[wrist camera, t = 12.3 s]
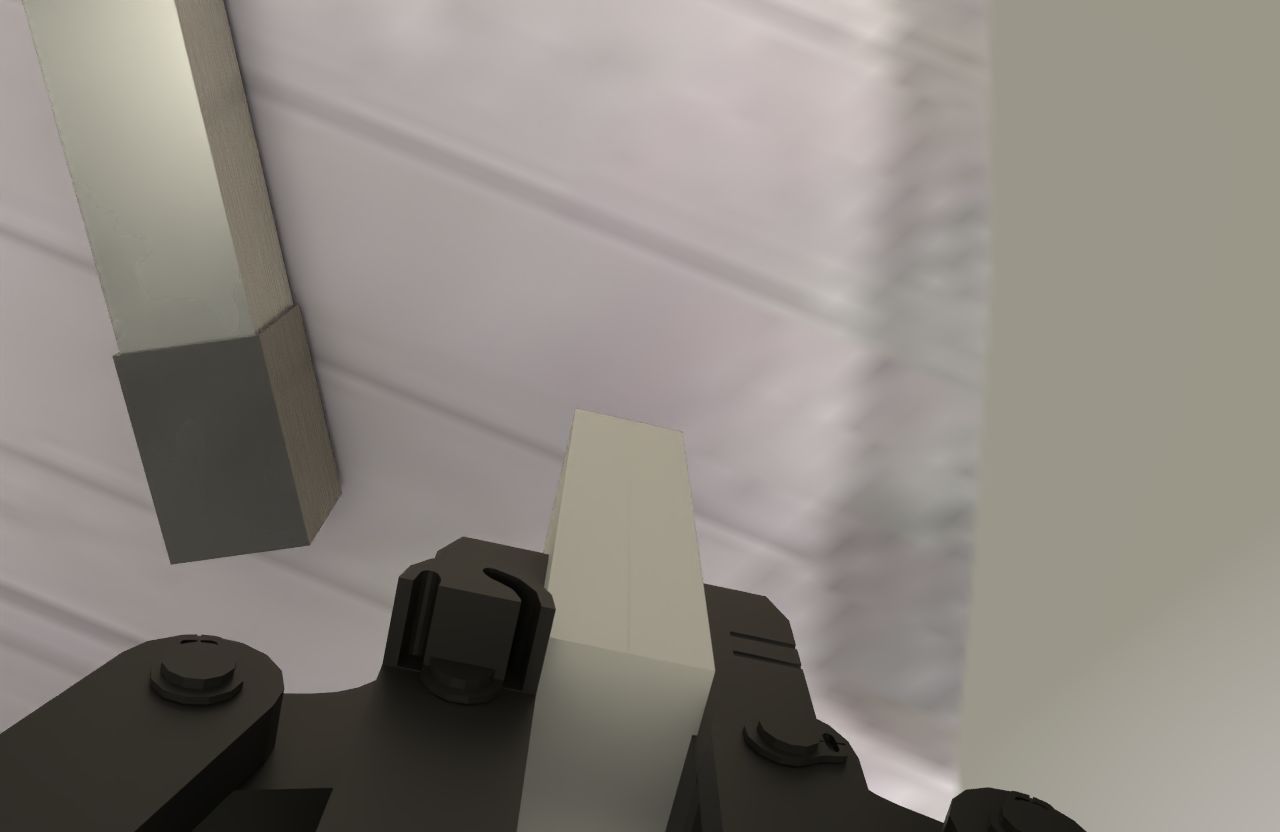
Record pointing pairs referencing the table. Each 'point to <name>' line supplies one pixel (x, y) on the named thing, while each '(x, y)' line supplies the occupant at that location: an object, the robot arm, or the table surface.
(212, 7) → the tong jaw
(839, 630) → the table surface
